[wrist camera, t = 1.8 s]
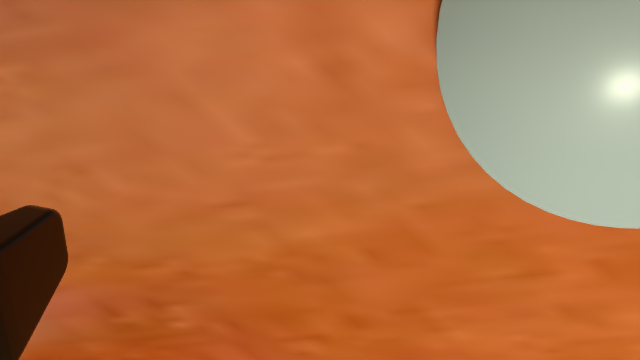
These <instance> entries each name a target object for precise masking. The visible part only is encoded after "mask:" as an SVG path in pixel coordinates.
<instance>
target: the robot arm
mask: <svg viewBox="0 0 640 360" xmlns="http://www.w3.org/2000/svg"><path fill="white" fill-rule="evenodd" d="M67 263H68V252H67V246H66V240H65V234H64V228H63V222H62V218H61V215H60V214H59V212H57V211H56V210H54V209H49V208H44V207H39V206H34V205H28V206H24V207H22V208H19V209H17V210H14V211H11V212H9V213H6V214H4V215H1V216H0V360H19V358H20V356H21V354H22V353H23V351H24V349H25V347H26V345H27V343H28V341H29V340H30V338H31V336H32V334H33V332H34V330H35V328H36V326H37V324H38V322H39V321H40V319H41V317H42V315H43V313H44V311H45V309H46V307H47V305H48V304H49V302H50V300H51V298H52V296H53V294H54V292H55V290H56V288H57V287H58V285H59V283H60V281H61V279H62V277H63V275H64V273H65V271H66V268H67Z"/></svg>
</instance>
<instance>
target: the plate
mask: <svg viewBox="0 0 640 360" xmlns="http://www.w3.org/2000/svg"><path fill="white" fill-rule="evenodd" d="M436 45H437V71H438V77H439V83H440V89H441V94H442V97H443V100H444V103H445V106H446V110H447V113H448V116H449V118H450V120H451V122H452V124H453V126H454V128H455V130H456V132H457V134H458V136H459V138H460V140H461V141H462V142H463V144H464V145H465V147H466V148H467V150H468V151H469V153H470V154H471V156H472V157H473V158H474V159H475V160H476V161H477V163H478V164H479V165H480V166H481V167H482V168H483V169H484V170H485V171H486V173H487V174H489V175H490V176H491V177H492V178H493V179H495V180H496V181H497V182H498V183H499V184H500V185H502V186H503V187H504V188H505V189H507V190H508V191H510V192H511V193H513V194H515V195H516V196H518V197H519V198H521V199H522V200H524V201H526V202H528V203H530V204H532V205H534V206H536V207H538V208H540V209H542V210H544V211H547V212H549V213H552V214H555V215H558V216H561V217H564V218H567V219H570V220H574V221H579V222H583V223H588V224H592V225H598V226H607V227H616V228H640V0H442V2H441V6H440V12H439V21H438V29H437V40H436Z"/></svg>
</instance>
